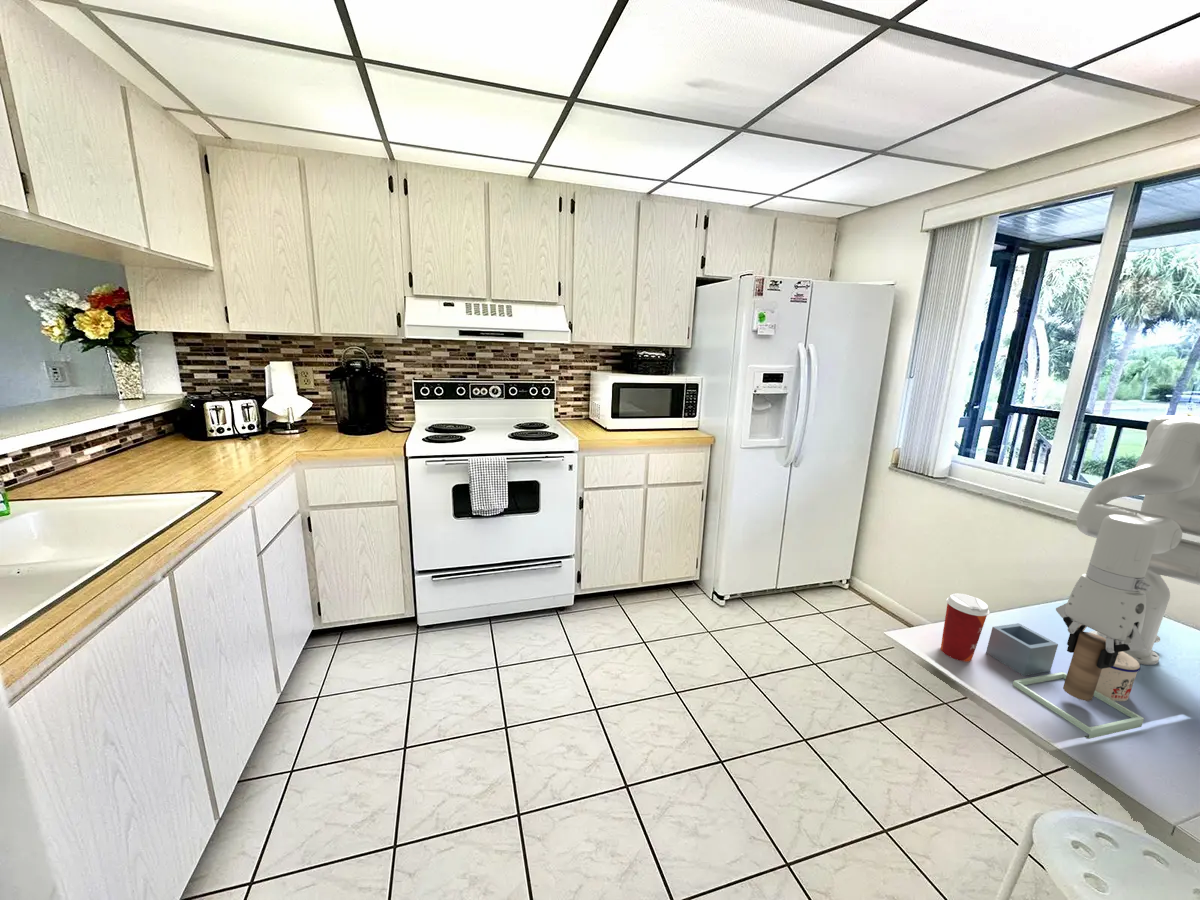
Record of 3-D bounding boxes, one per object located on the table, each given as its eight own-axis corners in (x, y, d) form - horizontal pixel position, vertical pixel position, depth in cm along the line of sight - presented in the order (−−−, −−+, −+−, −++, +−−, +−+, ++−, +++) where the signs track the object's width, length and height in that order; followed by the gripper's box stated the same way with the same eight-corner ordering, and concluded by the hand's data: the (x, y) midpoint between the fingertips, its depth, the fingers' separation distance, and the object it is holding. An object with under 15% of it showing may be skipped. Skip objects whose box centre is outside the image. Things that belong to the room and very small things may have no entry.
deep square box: (1010, 652, 119) (1018, 623, 117) (1049, 674, 111) (1058, 644, 109) (985, 656, 116) (992, 626, 115) (1022, 679, 109) (1030, 648, 107)
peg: (1072, 684, 102) (1089, 630, 100) (1097, 699, 98) (1115, 643, 95) (1057, 687, 101) (1074, 632, 98) (1082, 702, 97) (1100, 645, 94)
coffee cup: (984, 670, 111) (999, 612, 108) (944, 664, 112) (958, 607, 109) (964, 648, 119) (978, 594, 116) (928, 643, 120) (940, 589, 117)
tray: (1060, 679, 109) (1063, 671, 109) (1141, 726, 96) (1144, 718, 96) (1011, 688, 105) (1013, 680, 105) (1088, 738, 92) (1091, 730, 92)
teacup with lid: (1120, 711, 100) (1136, 662, 97) (1063, 683, 108) (1077, 638, 105) (1139, 693, 106) (1155, 647, 103) (1084, 668, 113) (1098, 625, 111)
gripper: (1186, 598, 87) (1155, 684, 91) (1076, 557, 103) (1054, 633, 107) (1158, 601, 85) (1128, 690, 89) (1051, 560, 101) (1029, 636, 105)
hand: (1088, 658), depth 98 cm, fingers closed on peg, 4 cm apart
